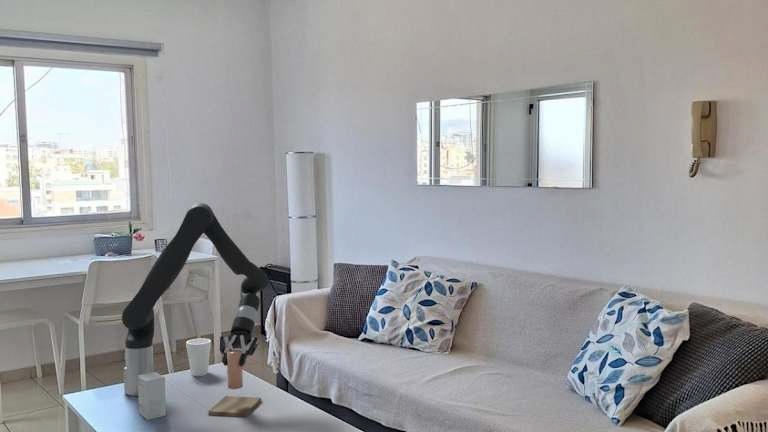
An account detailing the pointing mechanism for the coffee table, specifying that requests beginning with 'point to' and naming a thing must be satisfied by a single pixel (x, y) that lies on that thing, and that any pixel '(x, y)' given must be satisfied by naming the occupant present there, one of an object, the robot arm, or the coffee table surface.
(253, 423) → the coffee table surface
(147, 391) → the small box
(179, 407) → the coffee table surface
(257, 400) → the board
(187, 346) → the foam cup
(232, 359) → the canister
